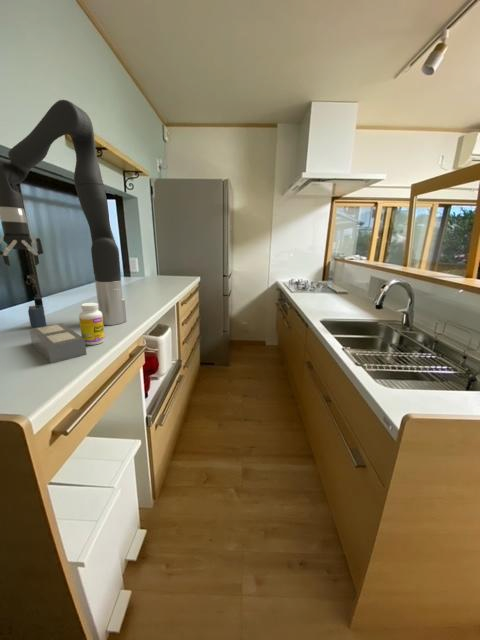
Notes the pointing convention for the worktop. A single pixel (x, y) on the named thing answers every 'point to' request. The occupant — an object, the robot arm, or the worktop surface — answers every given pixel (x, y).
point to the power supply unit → (58, 342)
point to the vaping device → (37, 313)
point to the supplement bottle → (91, 324)
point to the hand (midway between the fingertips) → (22, 265)
